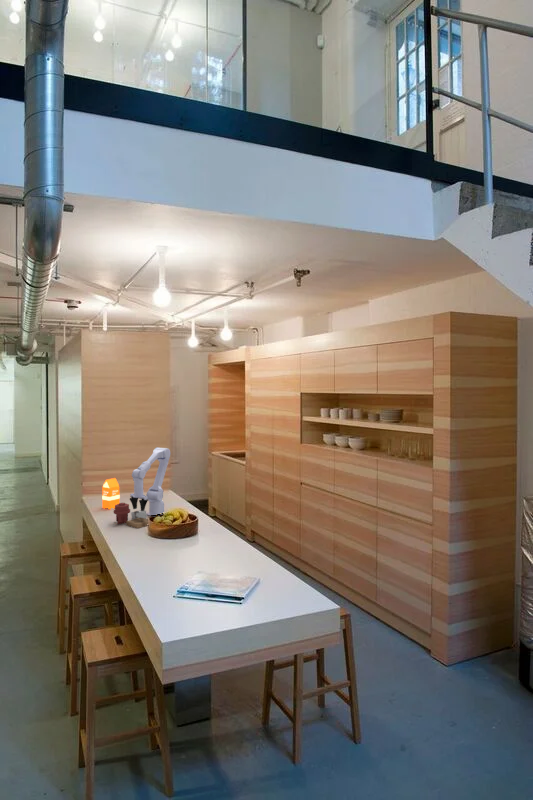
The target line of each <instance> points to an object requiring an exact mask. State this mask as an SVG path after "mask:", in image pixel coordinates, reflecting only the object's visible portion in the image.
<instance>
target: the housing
mask: <svg viewBox="0 0 533 800" xmlns="http://www.w3.org/2000/svg"><path fill="white" fill-rule="evenodd" d="M140 517H141V518H145V519H147V510H144V511H141V509H139V510H134V511H132V512H131V520H133V519H137V518H140Z"/></svg>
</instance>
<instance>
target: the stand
mask: <svg viewBox="0 0 533 800" xmlns="http://www.w3.org/2000/svg"><path fill="white" fill-rule="evenodd" d="M148 519H149V518H146V519H145V518H141V517H140V518H137V519H133V520H132V519H130V520H129V519H128V521H126V524H125V526H127V525H128V527H131V526H132V528H134V527H135V528H134V529H142V528H143V527H148V526H147V524H148Z"/></svg>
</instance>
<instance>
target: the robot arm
mask: <svg viewBox="0 0 533 800" xmlns="http://www.w3.org/2000/svg"><path fill="white" fill-rule="evenodd" d="M170 458H171V450H170V448H167V447H158V446H157V447H155V448H154V449H153V451H152V454H151V455H150V456H149V458H148V459H147V460H146V461H142V462H141V464H140V466H138V467H137V468H136V469H133V470H132V473H131V477H132V481H133V493H130V494H129V496H130V498H129V501H130V503H131V505H132V509H133V510H136V509H137V508H138V503H139V505H140V510H141V511H144V510H145V509H146V506H147V503H148V504H149V505H148V513H146V516H151V515H156V514H160V513H163V512H164V513H165V502H164V500H163V498H164V490H163V488H162V486H163V483H164V479H165V476H166V471H167V469H168V465H169V461H170ZM155 461H158V462H159V465H158V468H157V470H156V474H155V478H154V481H153V484H152V486H150V487H149V488H148V490H147V492H146V495H145V494H144V478H145V477H146V474H147V472H148V471H149V470H150V469H151V467H152V464H153V463H155ZM138 501H139V502H138ZM145 511H146V510H145Z"/></svg>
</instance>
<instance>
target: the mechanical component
mask: <svg viewBox="0 0 533 800" xmlns="http://www.w3.org/2000/svg"><path fill="white" fill-rule="evenodd" d="M129 513H131V509H130V504H129V503H125V502H120V503H119V504H116V505H115V508H114V509H113V514H114V515H115V521H116V524H117V525H123V524H122V523H126V521H129Z"/></svg>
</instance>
